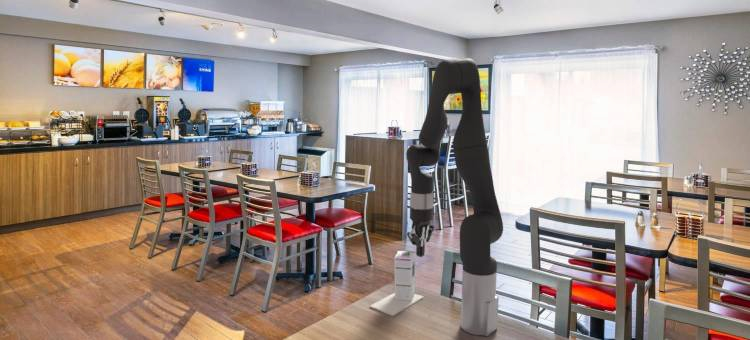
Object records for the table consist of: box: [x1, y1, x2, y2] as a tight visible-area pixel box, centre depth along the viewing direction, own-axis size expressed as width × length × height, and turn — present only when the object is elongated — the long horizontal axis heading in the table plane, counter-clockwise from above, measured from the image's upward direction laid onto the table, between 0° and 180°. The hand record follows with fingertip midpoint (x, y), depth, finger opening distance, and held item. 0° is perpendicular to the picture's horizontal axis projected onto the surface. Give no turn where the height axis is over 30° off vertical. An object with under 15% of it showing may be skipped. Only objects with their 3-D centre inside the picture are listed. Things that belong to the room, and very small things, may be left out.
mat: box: [369, 292, 425, 317], centre depth 148 cm, size 9×16×1 cm, turn 140°
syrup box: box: [394, 250, 416, 301], centre depth 150 cm, size 6×6×14 cm
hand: (420, 255), depth 156 cm, fingers closed
